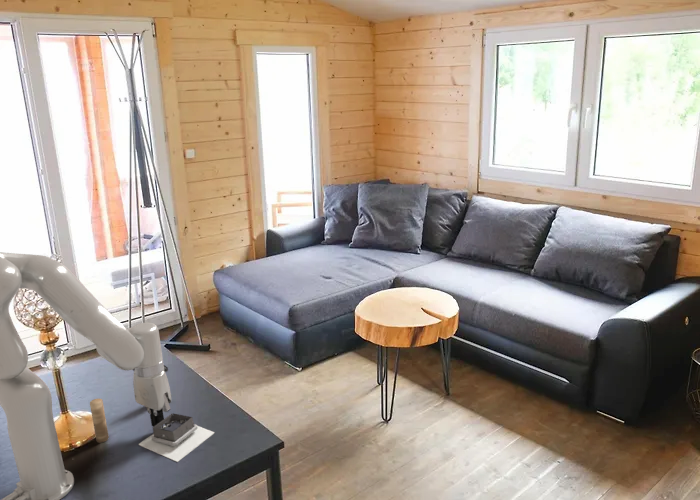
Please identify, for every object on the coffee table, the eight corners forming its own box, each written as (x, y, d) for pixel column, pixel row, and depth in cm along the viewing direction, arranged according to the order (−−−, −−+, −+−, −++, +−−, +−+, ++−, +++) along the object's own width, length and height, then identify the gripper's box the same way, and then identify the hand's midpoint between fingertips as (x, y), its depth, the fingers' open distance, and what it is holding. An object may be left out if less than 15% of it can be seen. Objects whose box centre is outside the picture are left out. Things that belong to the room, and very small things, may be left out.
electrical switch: (149, 440, 157) (175, 451, 153) (148, 424, 155) (174, 435, 152) (174, 422, 165) (199, 432, 161) (173, 406, 163) (198, 417, 159)
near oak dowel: (101, 443, 157) (95, 406, 153) (93, 440, 158) (87, 403, 154) (111, 437, 159) (105, 400, 156) (103, 434, 161) (97, 397, 157)
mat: (177, 462, 149) (177, 461, 149) (138, 444, 156) (138, 444, 156) (214, 432, 160) (214, 432, 160) (176, 418, 167) (176, 417, 167)
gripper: (119, 367, 156) (129, 424, 161) (158, 380, 148) (167, 439, 154) (141, 355, 162) (150, 410, 168) (179, 367, 155) (187, 424, 160)
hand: (158, 424), depth 161 cm, fingers closed
